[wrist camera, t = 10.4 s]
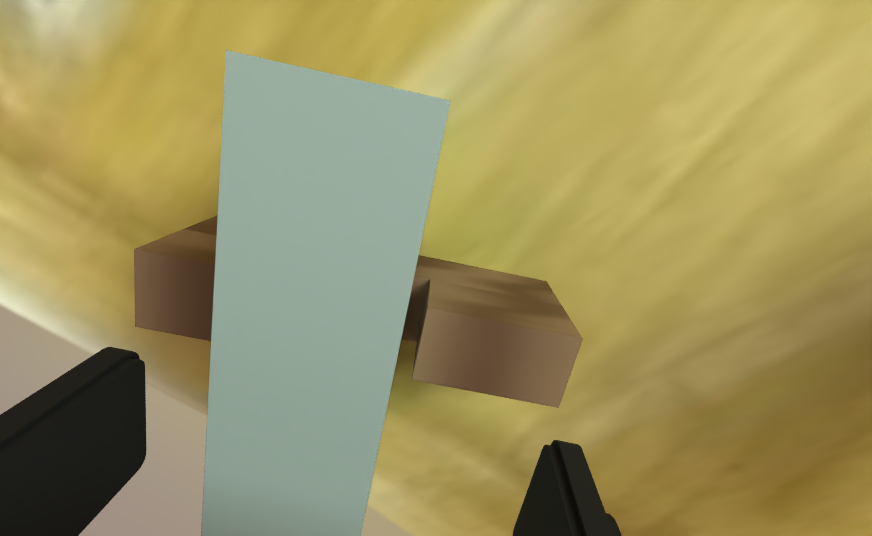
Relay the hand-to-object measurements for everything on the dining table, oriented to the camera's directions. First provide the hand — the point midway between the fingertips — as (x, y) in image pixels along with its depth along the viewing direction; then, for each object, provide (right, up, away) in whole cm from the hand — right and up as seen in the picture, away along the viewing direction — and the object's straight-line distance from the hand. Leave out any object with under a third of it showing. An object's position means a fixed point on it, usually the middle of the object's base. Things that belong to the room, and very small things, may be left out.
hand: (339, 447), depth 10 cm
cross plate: (0, +4, +11) cm, 12 cm away
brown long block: (0, +4, +11) cm, 12 cm away
